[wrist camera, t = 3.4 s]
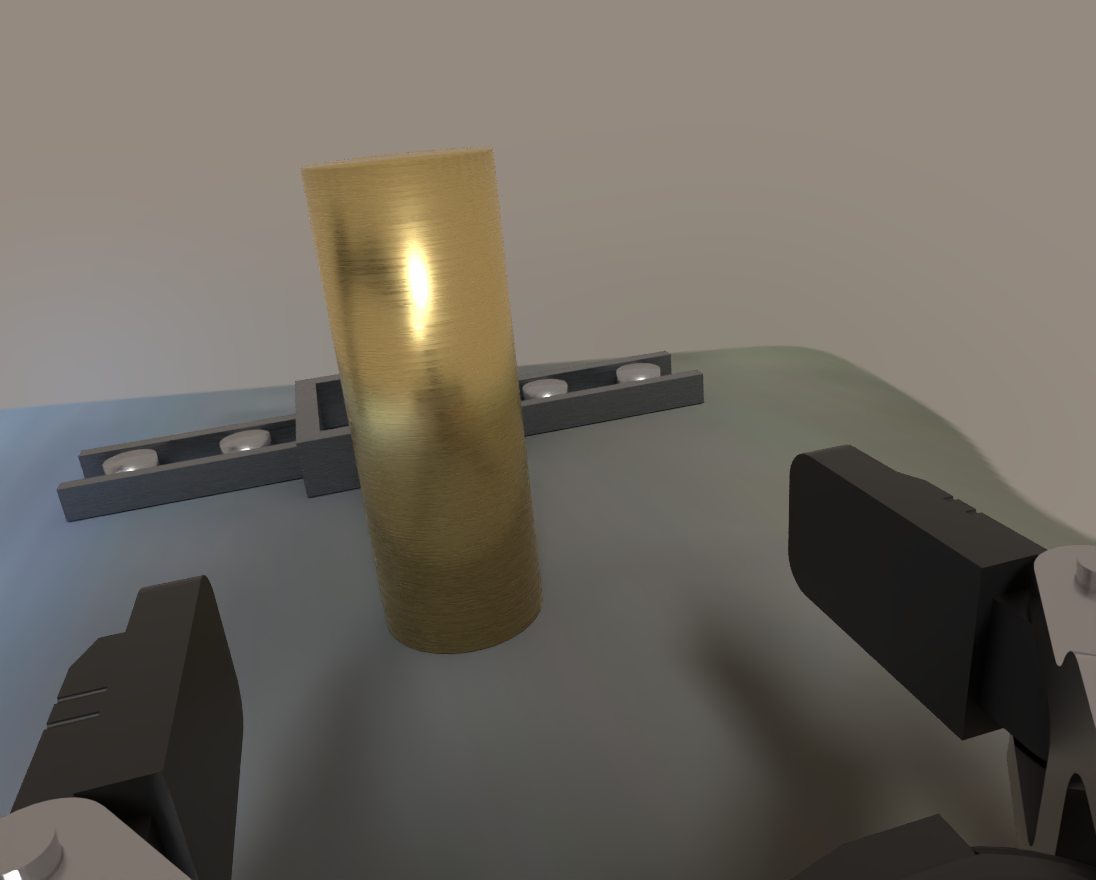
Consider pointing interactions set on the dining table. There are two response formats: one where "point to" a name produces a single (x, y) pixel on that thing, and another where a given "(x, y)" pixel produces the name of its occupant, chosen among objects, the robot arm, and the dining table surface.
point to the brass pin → (431, 389)
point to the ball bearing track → (345, 437)
